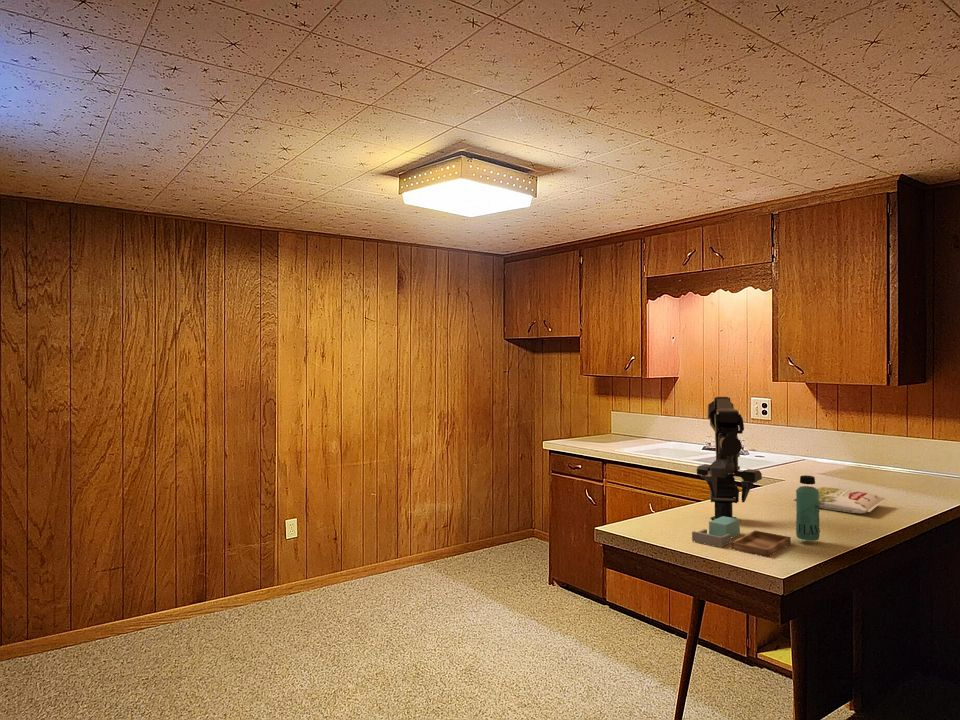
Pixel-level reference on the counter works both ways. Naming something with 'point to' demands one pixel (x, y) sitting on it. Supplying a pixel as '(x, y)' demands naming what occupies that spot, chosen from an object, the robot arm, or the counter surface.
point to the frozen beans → (847, 500)
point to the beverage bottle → (807, 510)
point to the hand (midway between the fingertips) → (728, 500)
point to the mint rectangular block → (724, 526)
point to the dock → (710, 538)
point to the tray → (761, 543)
